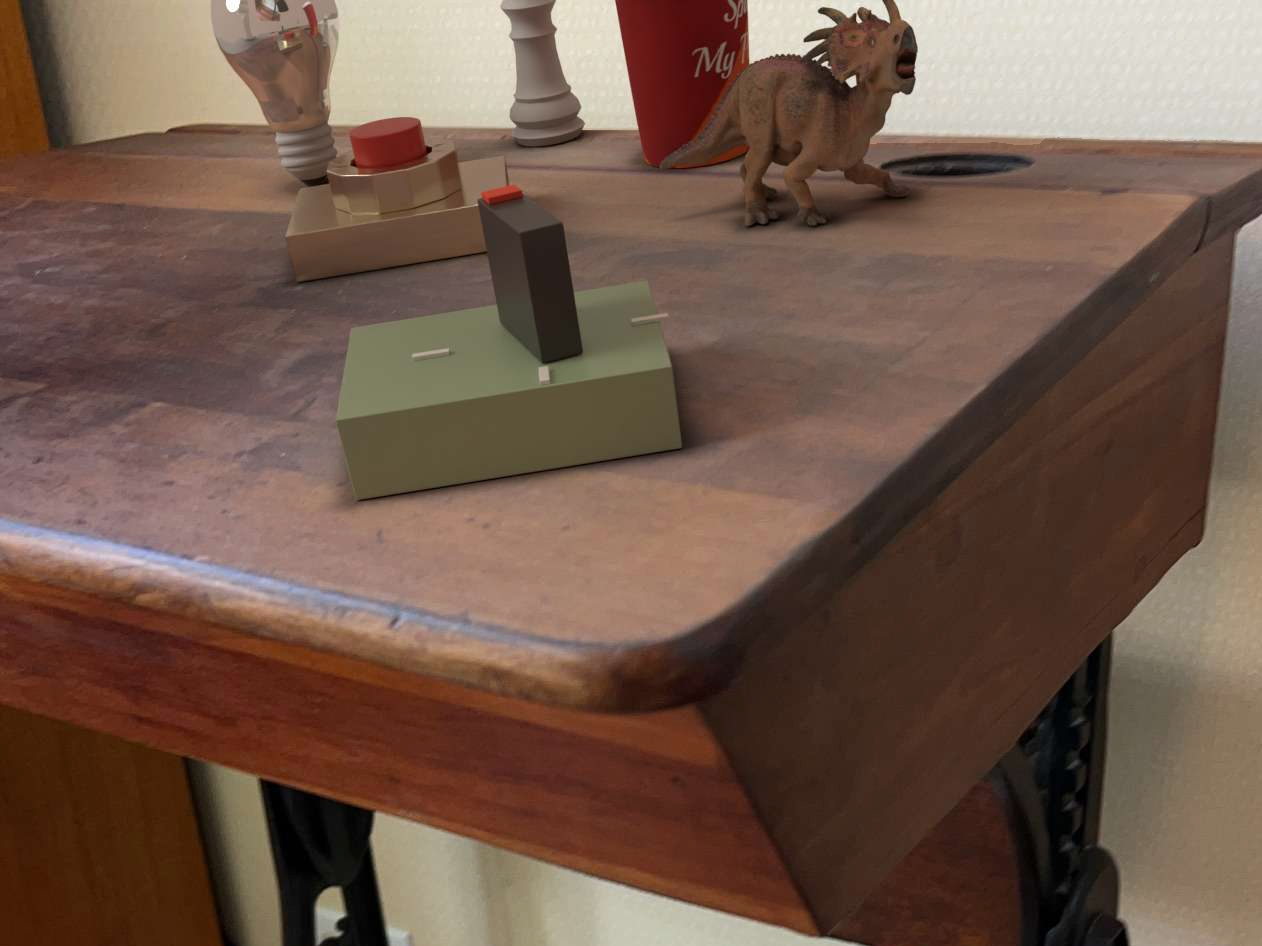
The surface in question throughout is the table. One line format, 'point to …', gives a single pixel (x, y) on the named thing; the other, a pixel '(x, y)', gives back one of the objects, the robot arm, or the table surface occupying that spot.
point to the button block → (391, 213)
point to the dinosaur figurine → (812, 111)
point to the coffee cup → (681, 67)
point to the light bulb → (286, 72)
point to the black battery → (530, 273)
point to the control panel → (503, 396)
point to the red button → (388, 142)
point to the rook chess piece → (539, 78)
